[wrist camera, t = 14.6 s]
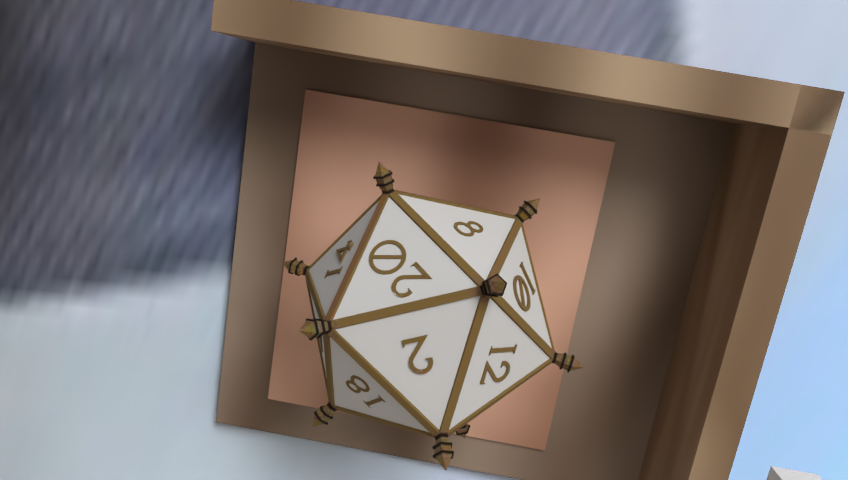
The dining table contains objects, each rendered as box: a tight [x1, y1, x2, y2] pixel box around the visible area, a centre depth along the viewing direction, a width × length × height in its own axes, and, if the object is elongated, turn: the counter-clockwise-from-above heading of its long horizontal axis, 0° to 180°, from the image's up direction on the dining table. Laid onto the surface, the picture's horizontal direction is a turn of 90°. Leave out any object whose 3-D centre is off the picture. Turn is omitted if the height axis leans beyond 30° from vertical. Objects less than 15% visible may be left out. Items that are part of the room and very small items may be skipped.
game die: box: [282, 162, 584, 470], centre depth 20 cm, size 9×8×10 cm
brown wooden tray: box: [211, 0, 844, 480], centre depth 22 cm, size 18×16×4 cm
